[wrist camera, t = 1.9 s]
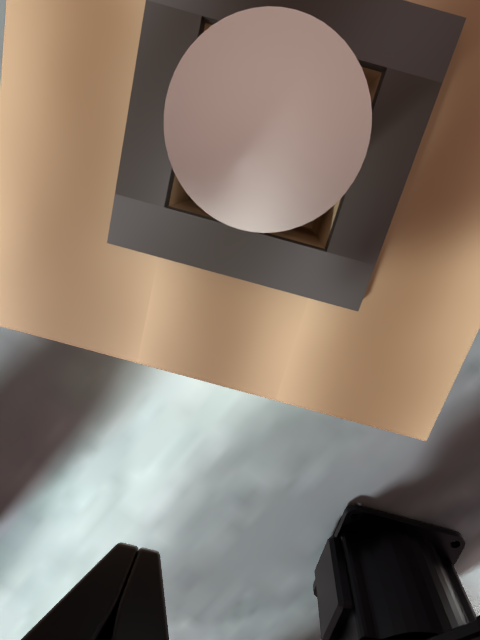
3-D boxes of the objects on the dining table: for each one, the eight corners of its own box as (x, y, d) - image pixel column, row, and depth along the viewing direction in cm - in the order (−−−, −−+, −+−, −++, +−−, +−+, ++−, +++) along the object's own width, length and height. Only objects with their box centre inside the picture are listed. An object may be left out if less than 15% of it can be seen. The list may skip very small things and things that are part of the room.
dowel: (352, 93, 13) (404, 40, 8) (311, 225, 15) (332, 255, 9) (222, 57, 13) (187, -21, 8) (193, 192, 14) (146, 203, 9)
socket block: (543, -17, 16) (714, -138, 10) (385, 369, 21) (432, 451, 15) (116, -138, 16) (14, -340, 10) (61, 281, 21) (-28, 327, 15)
